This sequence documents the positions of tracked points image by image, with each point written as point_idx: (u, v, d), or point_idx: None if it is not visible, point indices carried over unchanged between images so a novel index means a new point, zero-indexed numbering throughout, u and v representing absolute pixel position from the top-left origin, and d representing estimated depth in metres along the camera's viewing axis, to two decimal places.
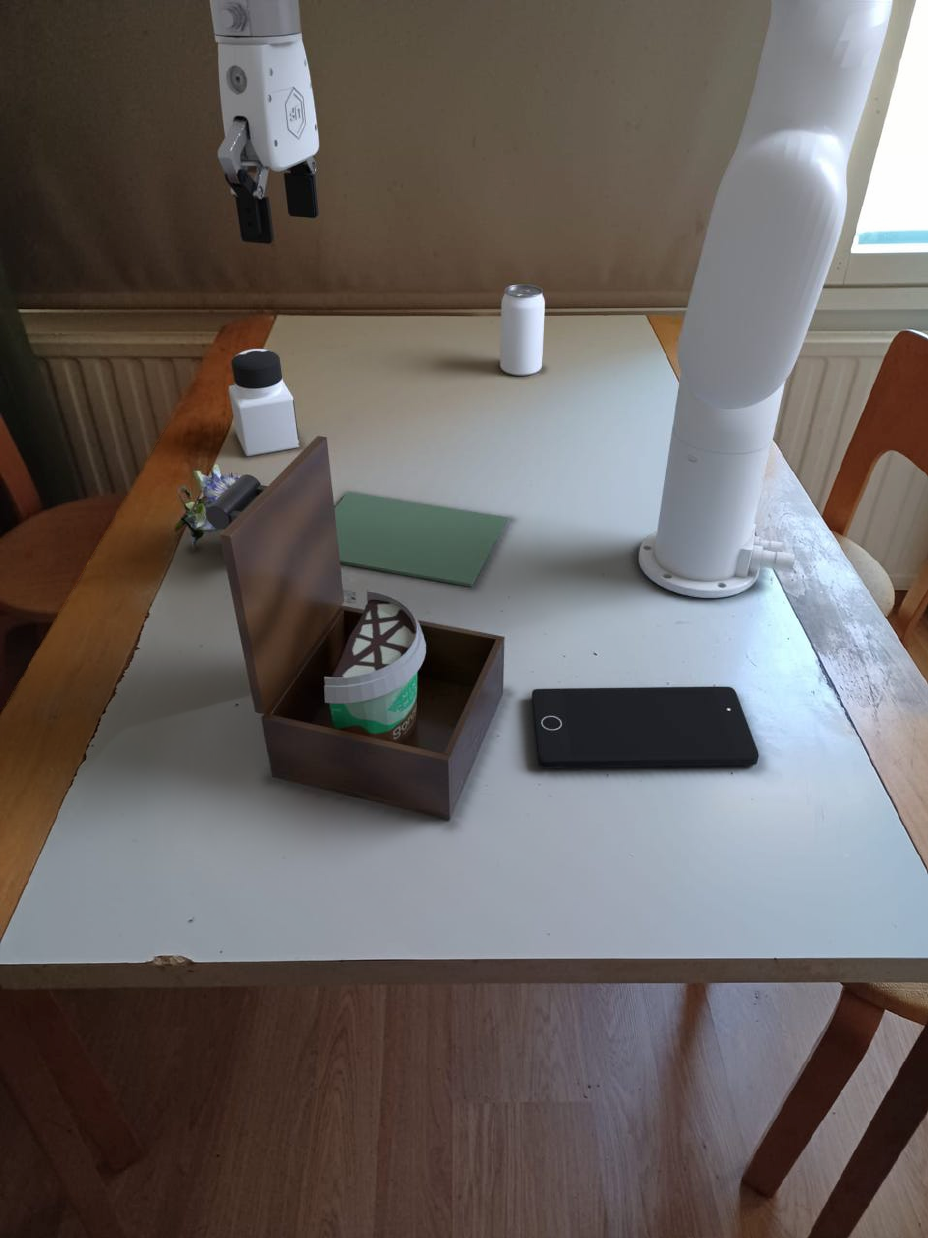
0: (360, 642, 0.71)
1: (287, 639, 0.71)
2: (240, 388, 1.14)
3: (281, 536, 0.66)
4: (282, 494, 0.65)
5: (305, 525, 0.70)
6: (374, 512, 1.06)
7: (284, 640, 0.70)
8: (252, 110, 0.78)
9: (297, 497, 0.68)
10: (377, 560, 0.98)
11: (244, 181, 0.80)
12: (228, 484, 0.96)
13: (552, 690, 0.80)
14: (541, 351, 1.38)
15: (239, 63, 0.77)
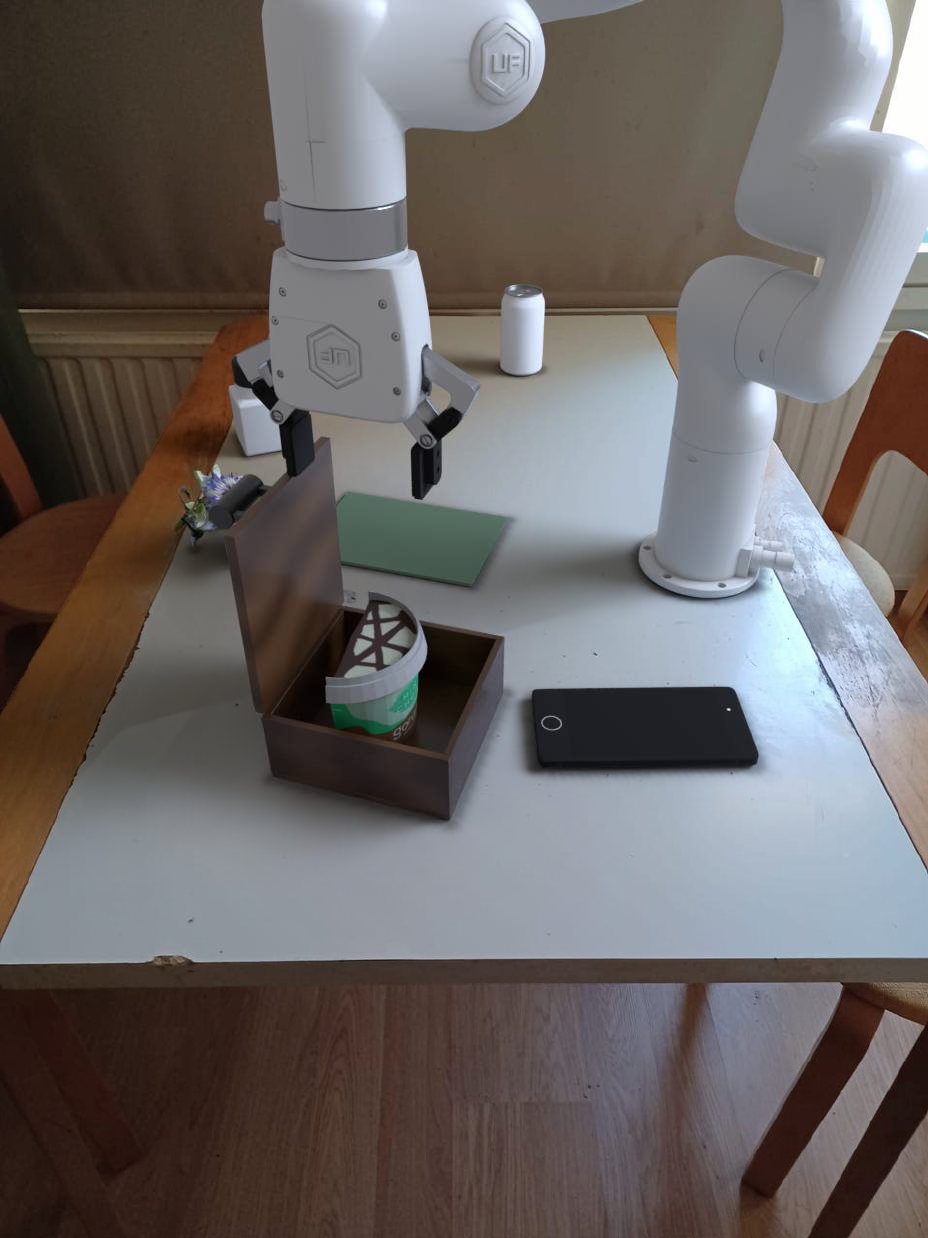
0: (361, 642, 0.71)
1: (288, 639, 0.71)
2: (240, 388, 1.14)
3: (284, 537, 0.66)
4: (285, 495, 0.65)
5: (307, 525, 0.70)
6: (374, 512, 1.06)
7: (285, 640, 0.70)
8: None
9: (300, 498, 0.68)
10: (377, 560, 0.98)
11: (256, 394, 0.63)
12: (228, 484, 0.96)
13: (552, 690, 0.80)
14: (541, 351, 1.38)
15: None
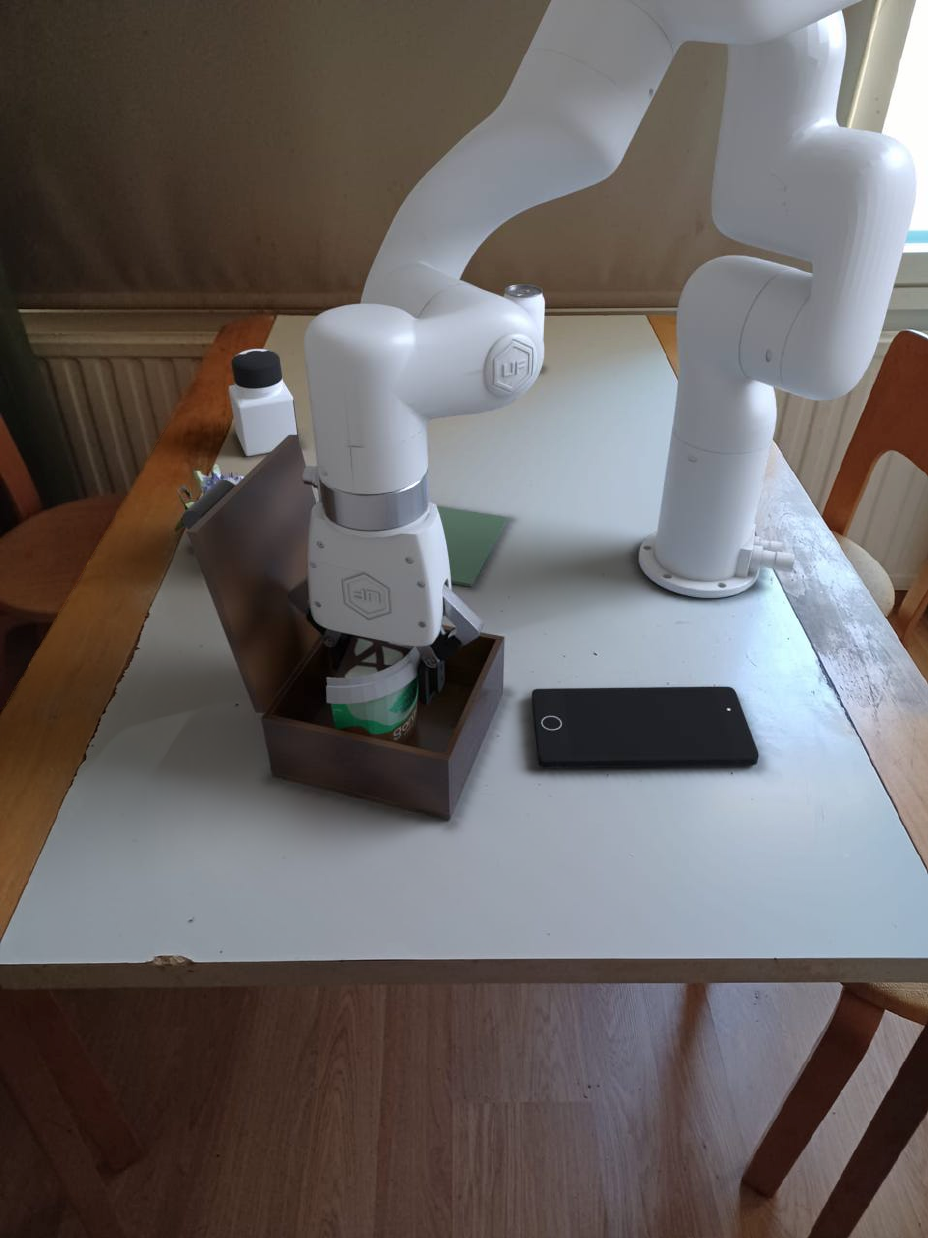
0: (362, 642, 0.71)
1: (281, 637, 0.71)
2: (240, 388, 1.14)
3: (257, 533, 0.67)
4: (252, 491, 0.66)
5: (285, 522, 0.70)
6: None
7: (277, 638, 0.70)
8: None
9: (271, 494, 0.68)
10: None
11: None
12: None
13: (552, 690, 0.80)
14: None
15: None
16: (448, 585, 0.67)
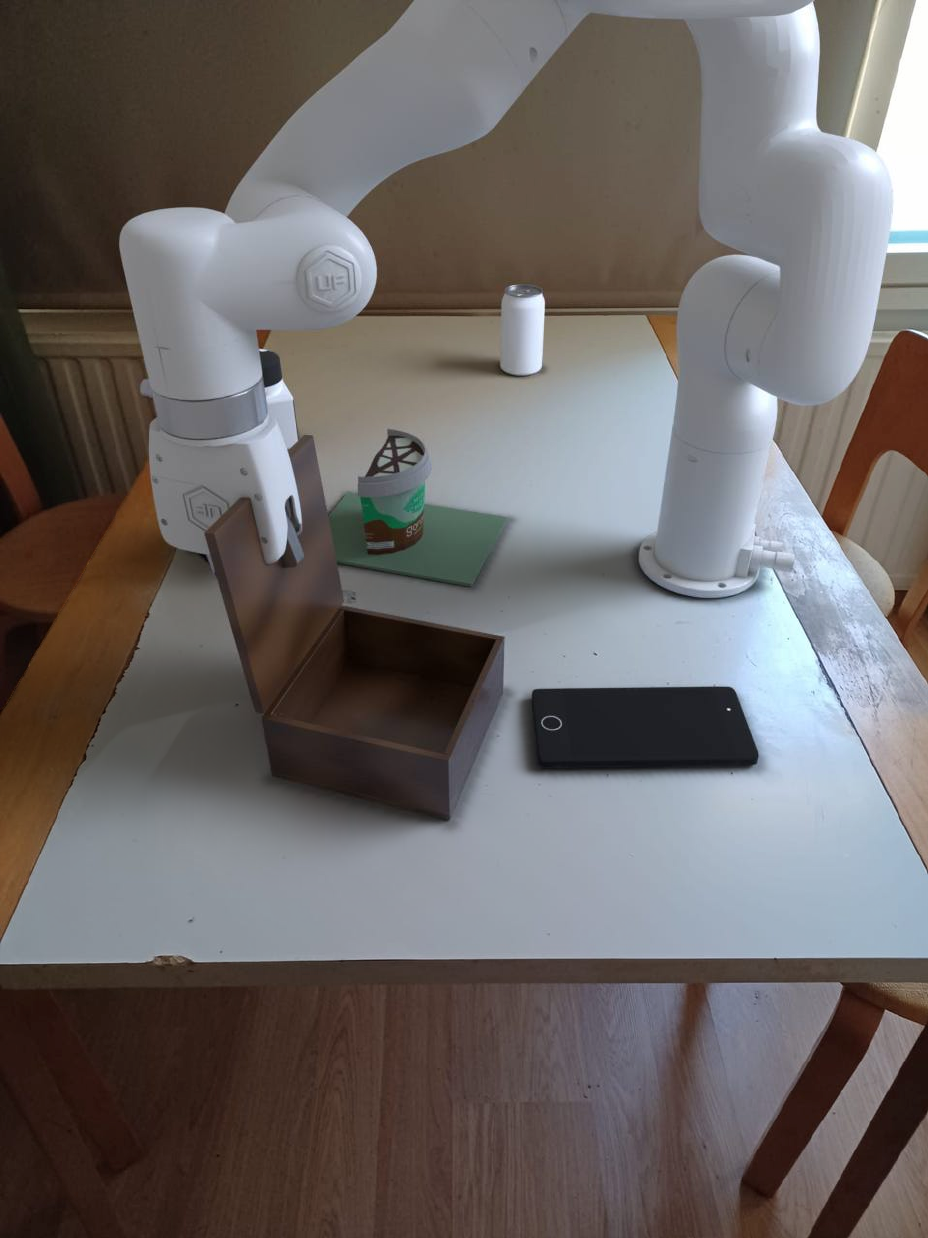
0: (383, 459, 0.96)
1: (284, 638, 0.71)
2: None
3: None
4: None
5: None
6: None
7: (281, 639, 0.70)
8: None
9: None
10: (377, 560, 0.98)
11: (201, 555, 0.71)
12: None
13: (552, 690, 0.80)
14: (541, 351, 1.38)
15: None
16: (294, 503, 0.67)
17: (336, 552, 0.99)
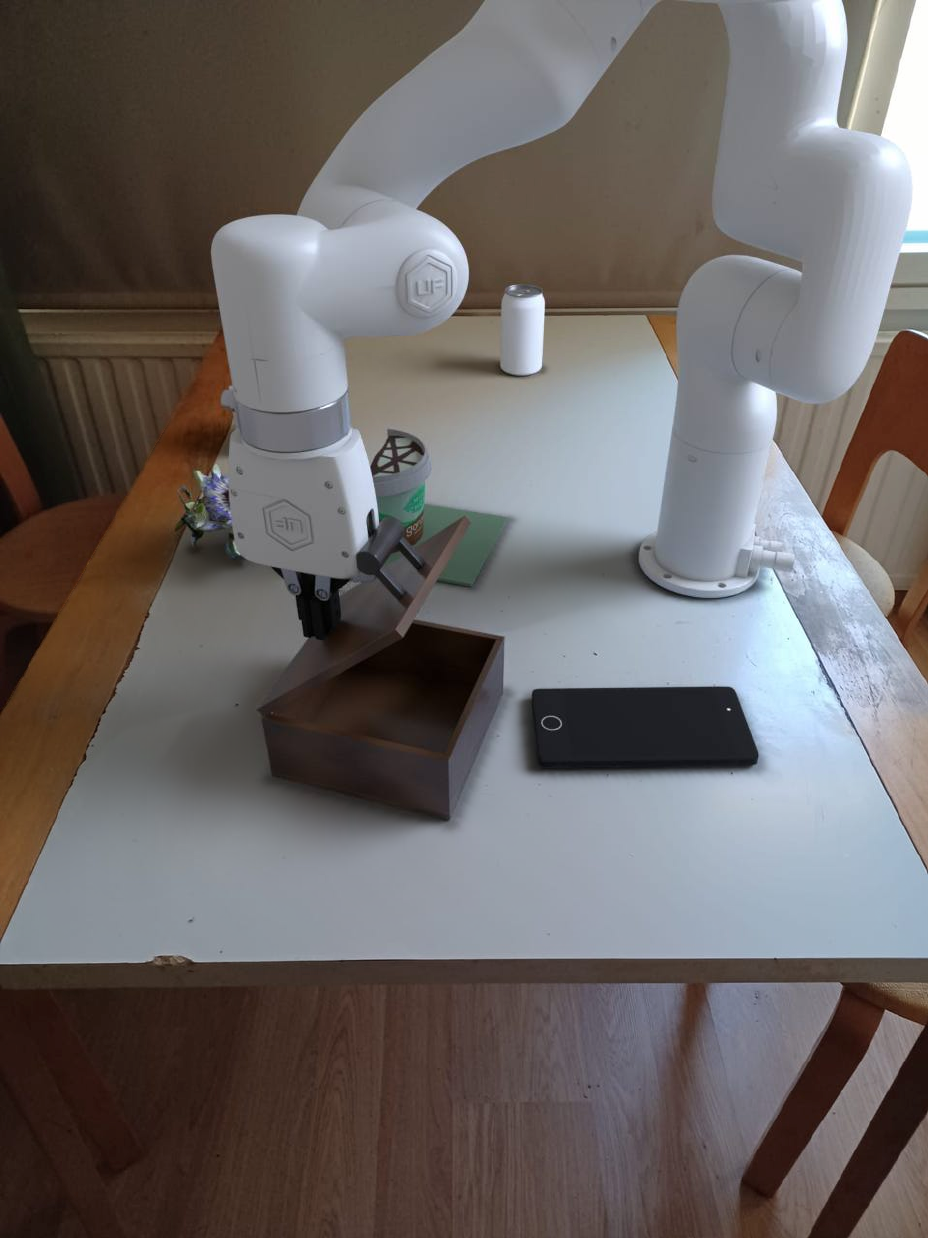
0: (383, 459, 0.96)
1: None
2: None
3: None
4: None
5: None
6: None
7: None
8: None
9: None
10: None
11: (274, 568, 0.69)
12: (228, 484, 0.96)
13: (552, 690, 0.80)
14: (541, 351, 1.38)
15: None
16: (374, 516, 0.65)
17: None
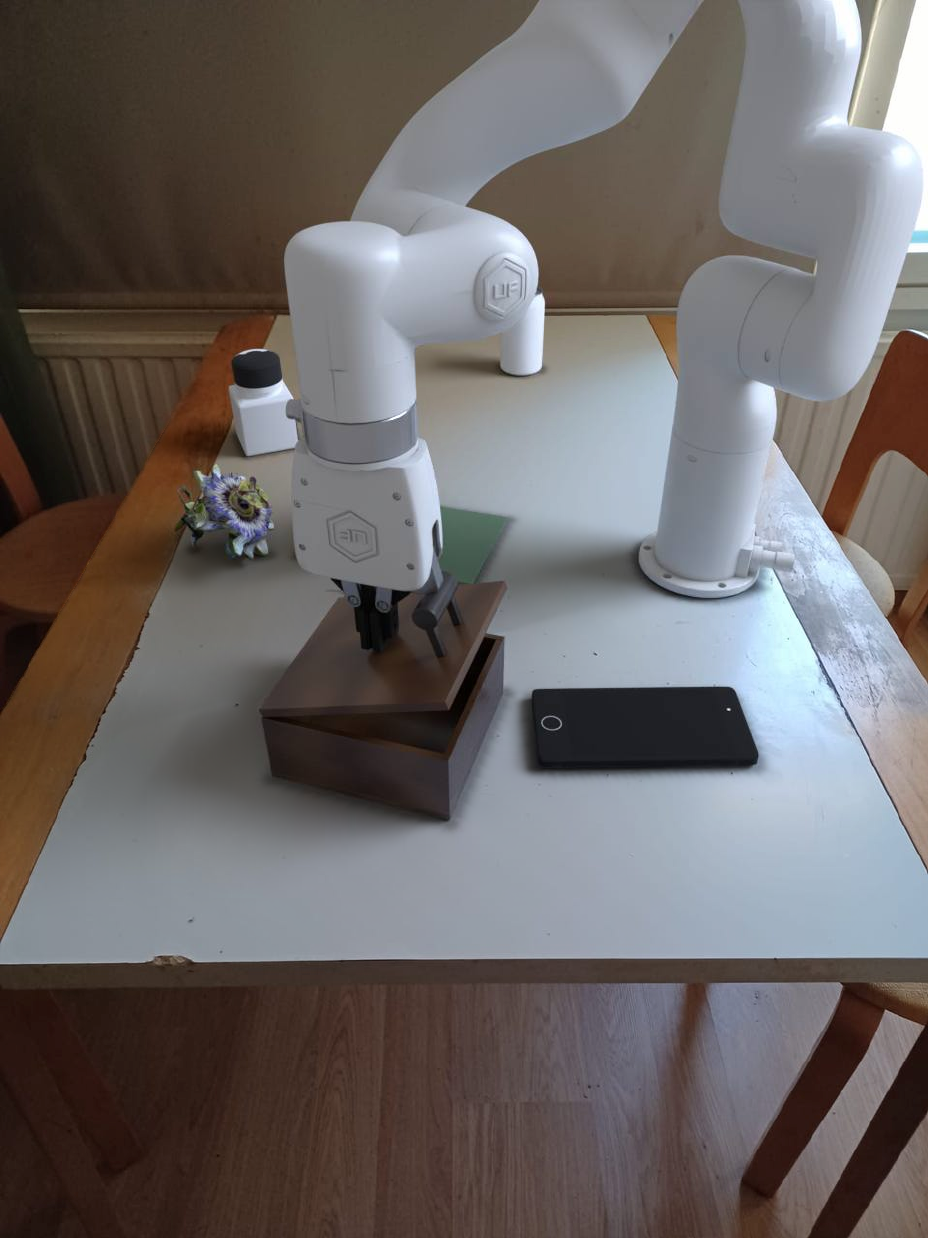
0: None
1: None
2: (240, 388, 1.14)
3: None
4: None
5: None
6: None
7: None
8: None
9: None
10: None
11: None
12: (228, 484, 0.96)
13: (552, 690, 0.80)
14: (541, 351, 1.38)
15: None
16: (438, 527, 0.64)
17: None
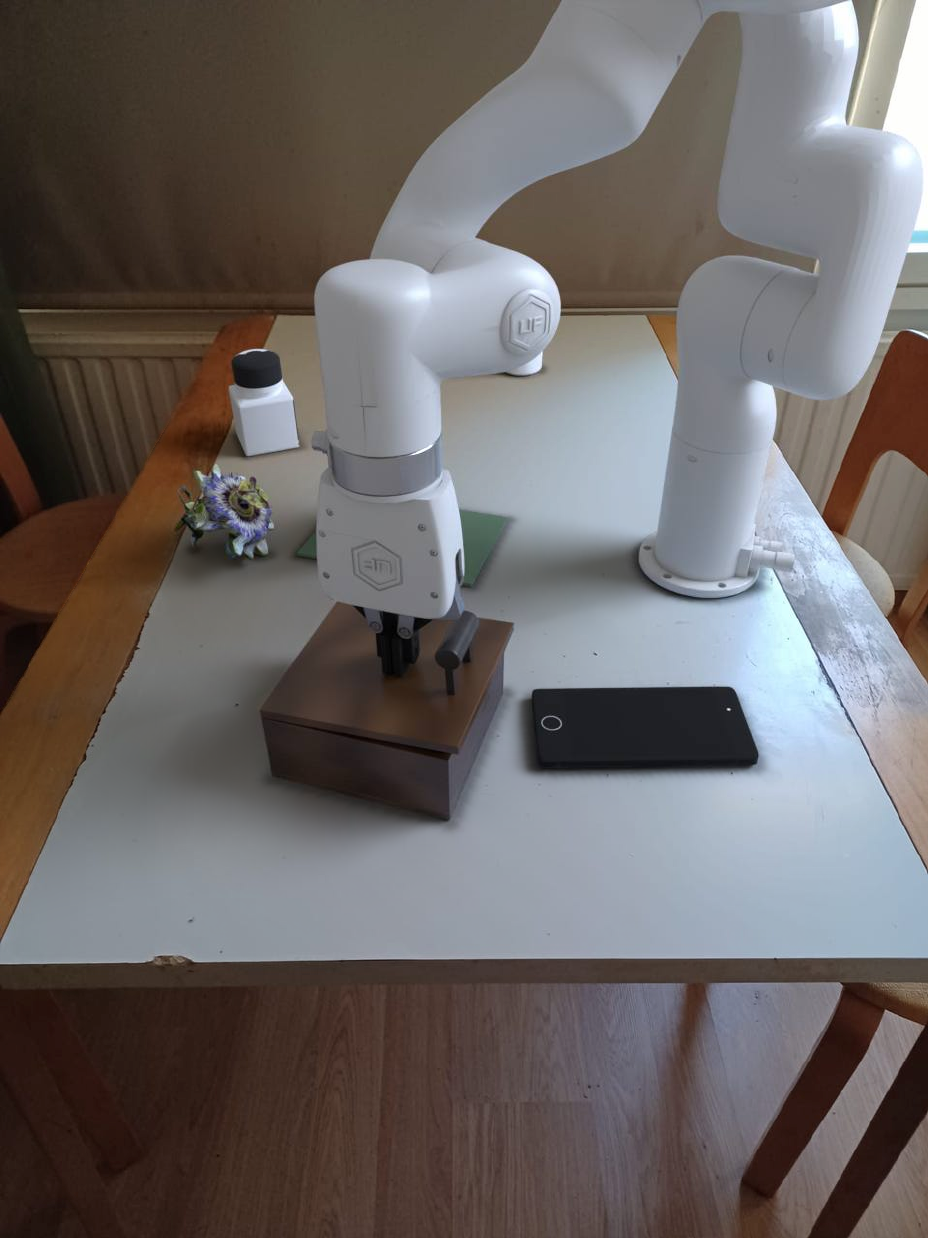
0: None
1: None
2: (240, 388, 1.14)
3: None
4: None
5: None
6: None
7: None
8: None
9: None
10: None
11: (356, 606, 0.69)
12: (228, 484, 0.96)
13: (552, 690, 0.80)
14: None
15: None
16: (461, 555, 0.65)
17: None
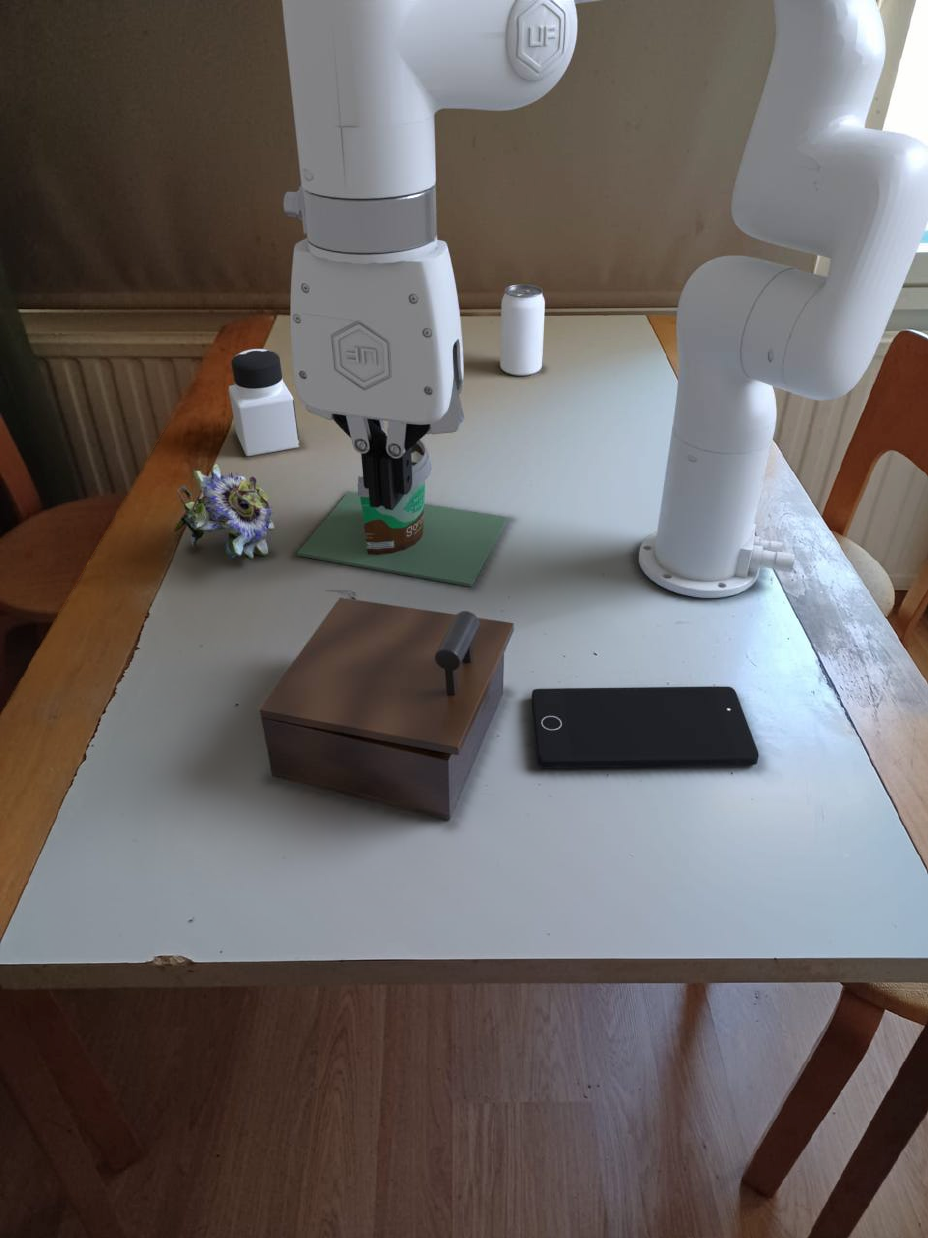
0: None
1: None
2: (240, 388, 1.14)
3: None
4: None
5: None
6: None
7: None
8: None
9: None
10: (377, 560, 0.98)
11: None
12: (228, 484, 0.96)
13: (552, 690, 0.80)
14: (541, 351, 1.38)
15: None
16: (459, 350, 0.56)
17: (336, 552, 0.99)
